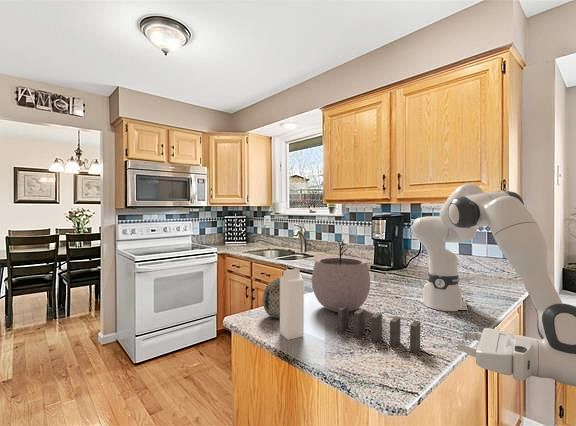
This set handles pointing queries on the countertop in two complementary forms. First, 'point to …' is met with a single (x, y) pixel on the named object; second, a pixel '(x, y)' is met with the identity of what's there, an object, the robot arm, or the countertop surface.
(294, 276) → the milk
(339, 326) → the domino
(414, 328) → the domino
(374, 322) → the domino
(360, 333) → the domino
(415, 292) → the countertop surface
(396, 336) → the domino
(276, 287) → the decorative egg
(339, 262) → the plant pot
